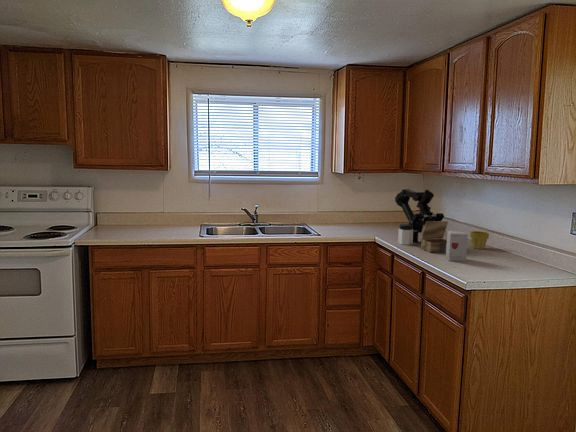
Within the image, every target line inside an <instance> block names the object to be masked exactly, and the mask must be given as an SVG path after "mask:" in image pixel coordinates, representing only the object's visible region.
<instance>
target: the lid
mask: <svg viewBox="0 0 576 432" xmlns="http://www.w3.org/2000/svg"><path fill="white" fill-rule="evenodd" d="M448 223H449V221H447V220H442V221H430V222H426V224H425V225H424V226H423V229H422V233H421V237H420V239H444V236H445V232H446V230H447V227H448Z"/></svg>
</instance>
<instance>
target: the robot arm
mask: <svg viewBox="0 0 576 432" xmlns="http://www.w3.org/2000/svg"><path fill="white" fill-rule="evenodd" d="M434 196H435V195H434V193H433V192H432V191H430V190H429V189H425V190H424V191H414V190H412V189H409V188H403V189H402V190H401V191H400V192H398V193H397V194H396V196H395V199H394V202H395V203H396V205H397V206H398V207H400V208H401V209H402V210H403V213H404V214H405V217H406V219H407V220H408V223H407V224H410V225H413V243H420V241H419V234H422V233H423V230H424V226H425V224H426V222H430V221H443V219H444V217H445V215H444V213H442V212H441V213H440V212H439V213H437V212H436V213H435V215H433V214H434V212H432V211H431V206H429V204H430V203H431V202H432V200H433V198H434ZM411 198H412V201H414V202H417V204H416V208H418V209H419V213H414V212H413V210H412V208H411V206H410V204H409V202H410V199H411Z"/></svg>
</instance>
